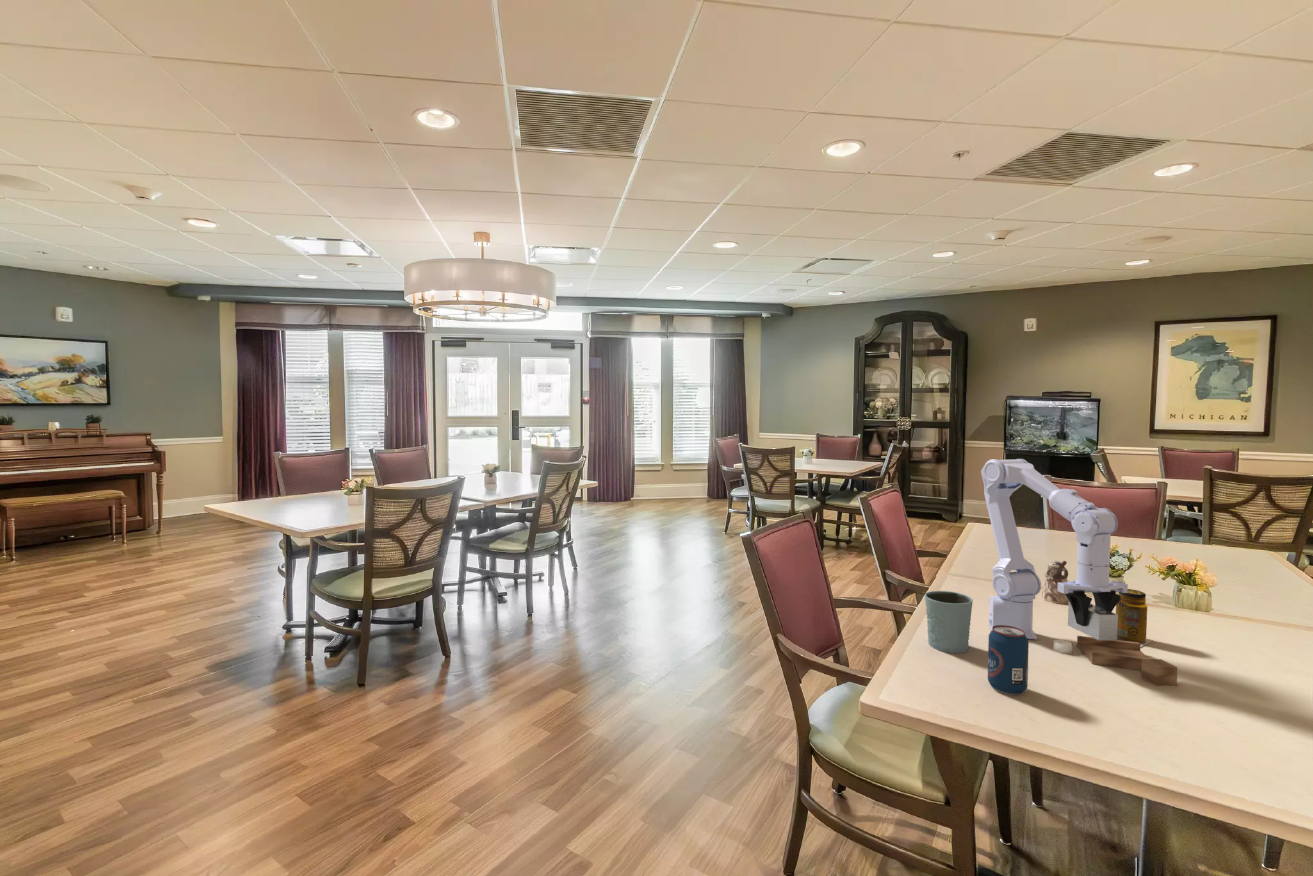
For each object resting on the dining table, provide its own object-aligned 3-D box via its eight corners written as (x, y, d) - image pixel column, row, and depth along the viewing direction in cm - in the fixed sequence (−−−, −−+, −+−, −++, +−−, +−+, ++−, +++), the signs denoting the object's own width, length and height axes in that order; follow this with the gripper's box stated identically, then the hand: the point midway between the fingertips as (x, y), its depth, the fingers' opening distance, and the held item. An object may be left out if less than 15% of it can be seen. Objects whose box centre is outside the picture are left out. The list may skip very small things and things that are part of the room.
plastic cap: (1055, 652, 138) (1055, 644, 138) (1051, 647, 141) (1051, 639, 141) (1074, 655, 136) (1074, 646, 136) (1069, 649, 140) (1069, 641, 140)
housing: (1098, 640, 126) (1099, 613, 126) (1067, 625, 135) (1068, 600, 135) (1116, 640, 126) (1117, 613, 126) (1084, 625, 135) (1085, 600, 135)
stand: (1092, 663, 131) (1092, 652, 131) (1077, 645, 141) (1077, 635, 141) (1159, 672, 127) (1159, 660, 127) (1138, 653, 137) (1138, 642, 137)
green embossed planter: (976, 646, 141) (978, 596, 141) (964, 658, 134) (965, 606, 133) (932, 635, 148) (933, 588, 148) (917, 646, 141) (918, 597, 140)
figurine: (1037, 596, 181) (1038, 557, 180) (1062, 597, 180) (1063, 558, 179) (1049, 603, 173) (1050, 563, 173) (1075, 604, 172) (1077, 564, 172)
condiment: (1152, 641, 145) (1154, 592, 144) (1140, 648, 140) (1141, 598, 140) (1117, 632, 151) (1118, 585, 150) (1103, 638, 146) (1105, 590, 146)
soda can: (980, 680, 123) (982, 623, 122) (1014, 681, 123) (1016, 624, 122) (999, 696, 116) (1000, 636, 115) (1035, 697, 116) (1036, 636, 115)
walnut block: (1156, 686, 121) (1157, 667, 120) (1141, 677, 125) (1141, 659, 124) (1176, 686, 120) (1177, 667, 120) (1160, 678, 124) (1161, 659, 124)
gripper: (1075, 568, 126) (1073, 631, 126) (1140, 568, 126) (1138, 630, 127) (1051, 560, 133) (1049, 620, 133) (1113, 559, 133) (1111, 619, 134)
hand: (1091, 624), depth 131 cm, fingers closed on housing, 4 cm apart
